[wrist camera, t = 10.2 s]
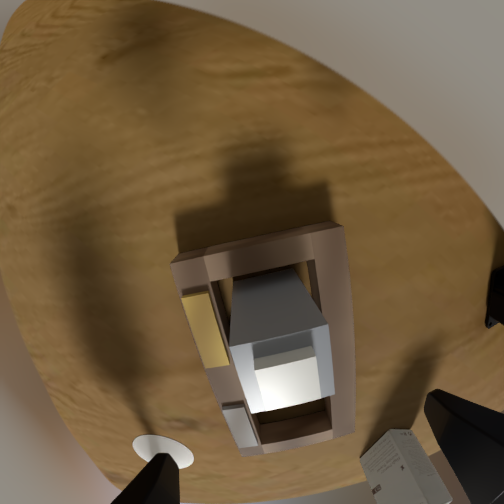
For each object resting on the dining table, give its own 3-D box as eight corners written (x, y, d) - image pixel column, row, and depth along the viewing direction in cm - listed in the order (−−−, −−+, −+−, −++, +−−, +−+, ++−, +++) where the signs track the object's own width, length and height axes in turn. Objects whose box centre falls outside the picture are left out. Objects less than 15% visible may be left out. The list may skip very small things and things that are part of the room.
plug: (292, 268, 18) (334, 333, 10) (302, 320, 19) (339, 404, 11) (233, 281, 18) (228, 358, 10) (246, 333, 19) (252, 425, 11)
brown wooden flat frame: (330, 220, 18) (345, 227, 15) (346, 414, 22) (355, 435, 19) (178, 253, 18) (167, 265, 15) (241, 437, 22) (242, 460, 19)
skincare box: (387, 427, 23) (431, 508, 11) (412, 428, 23) (456, 498, 12) (356, 460, 24) (386, 537, 12) (382, 459, 25) (414, 528, 13)
